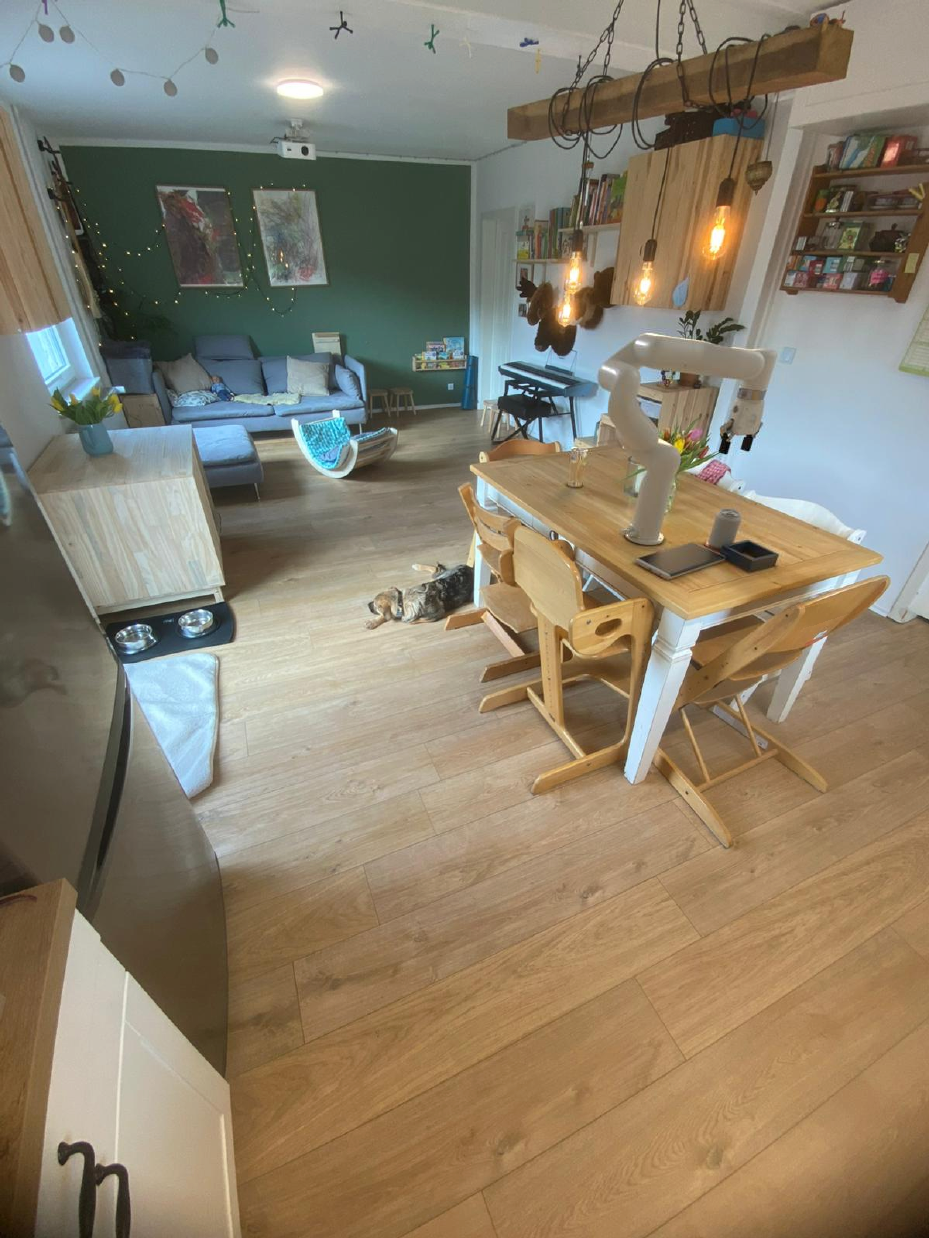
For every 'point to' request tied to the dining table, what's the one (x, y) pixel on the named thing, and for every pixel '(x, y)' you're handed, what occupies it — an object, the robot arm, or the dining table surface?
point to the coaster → (712, 547)
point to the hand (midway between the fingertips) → (733, 452)
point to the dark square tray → (761, 554)
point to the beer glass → (577, 466)
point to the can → (725, 528)
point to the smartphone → (679, 560)
